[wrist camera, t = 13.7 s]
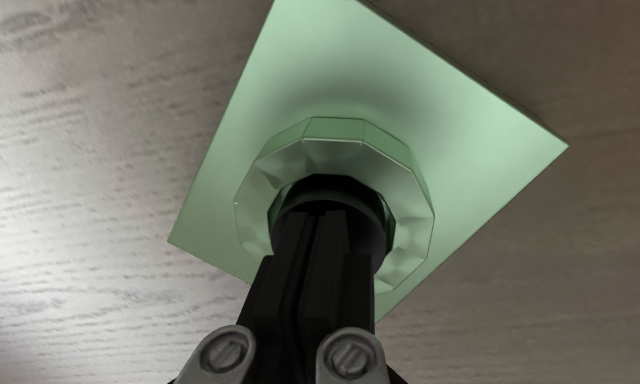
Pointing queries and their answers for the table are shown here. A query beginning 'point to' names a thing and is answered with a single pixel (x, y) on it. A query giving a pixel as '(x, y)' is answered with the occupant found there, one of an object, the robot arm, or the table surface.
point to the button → (338, 195)
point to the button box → (359, 142)
